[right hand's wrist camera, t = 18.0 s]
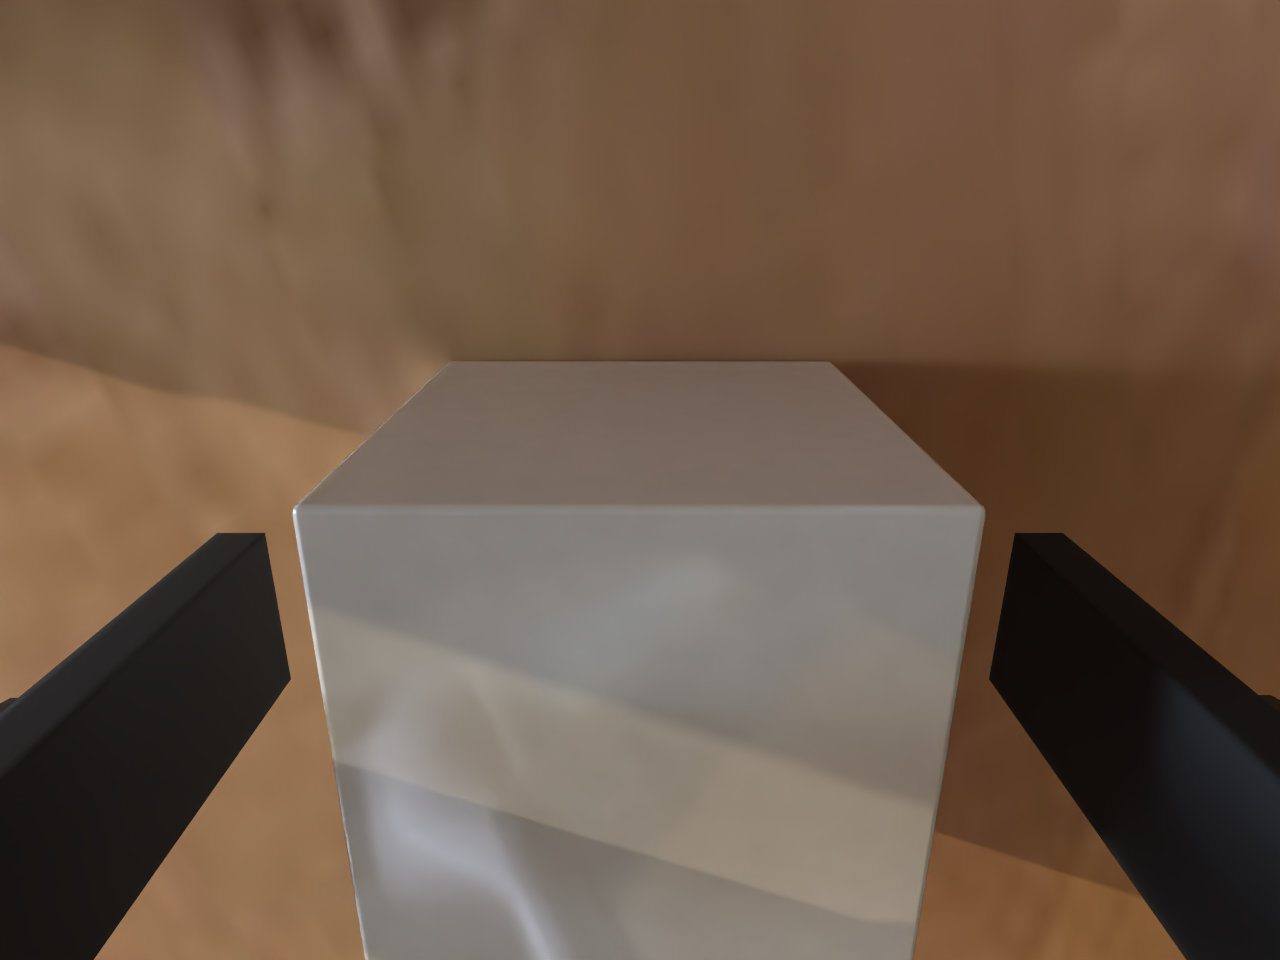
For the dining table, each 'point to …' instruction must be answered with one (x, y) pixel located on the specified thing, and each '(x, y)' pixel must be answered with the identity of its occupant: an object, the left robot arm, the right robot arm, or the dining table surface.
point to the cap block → (639, 663)
